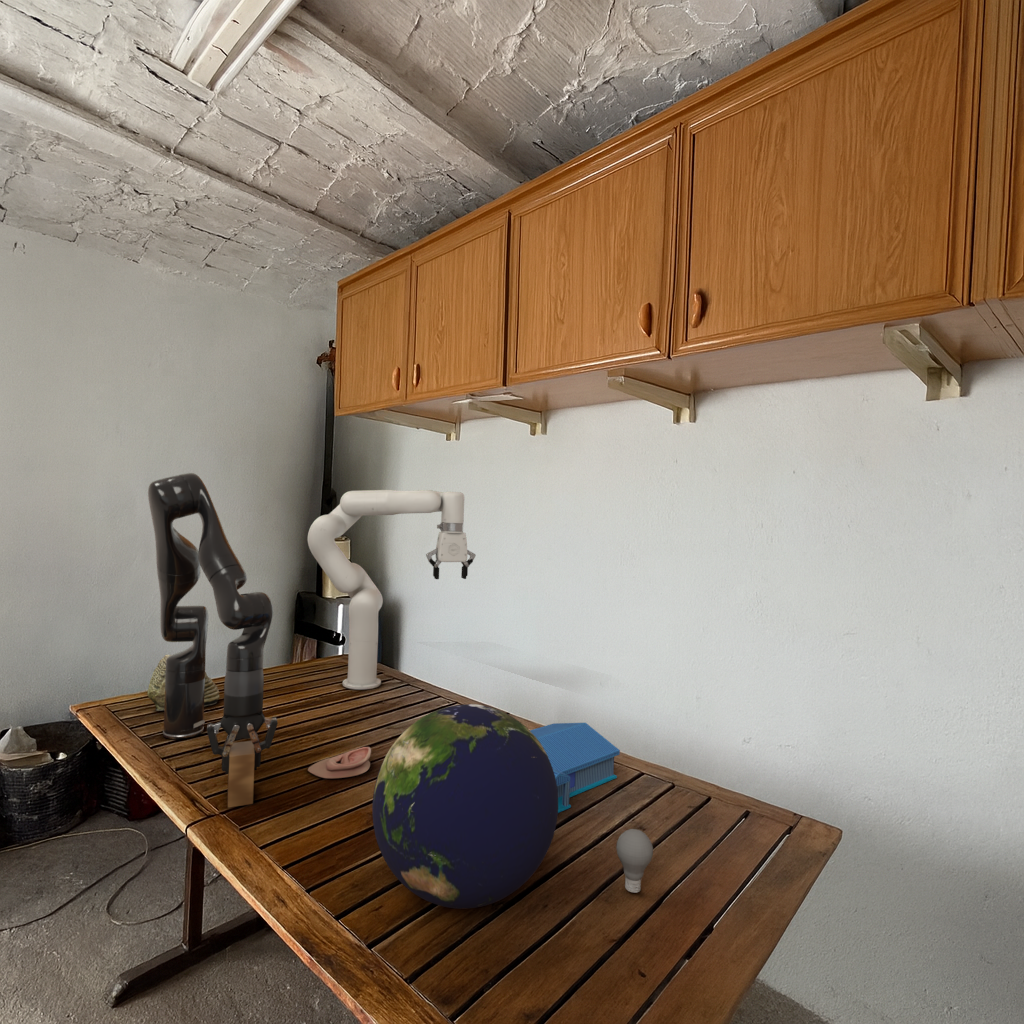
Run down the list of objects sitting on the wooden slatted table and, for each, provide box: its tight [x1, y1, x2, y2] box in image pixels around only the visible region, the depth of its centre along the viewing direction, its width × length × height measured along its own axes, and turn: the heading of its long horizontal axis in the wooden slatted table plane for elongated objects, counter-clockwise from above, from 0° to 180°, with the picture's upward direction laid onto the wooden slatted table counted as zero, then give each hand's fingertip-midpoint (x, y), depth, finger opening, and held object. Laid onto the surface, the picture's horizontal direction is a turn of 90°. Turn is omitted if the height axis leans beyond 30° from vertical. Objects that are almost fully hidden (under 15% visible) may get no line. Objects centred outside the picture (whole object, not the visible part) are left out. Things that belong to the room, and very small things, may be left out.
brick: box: [227, 740, 255, 809], centre depth 132 cm, size 5×7×10 cm, turn 25°
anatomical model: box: [307, 746, 372, 779], centre depth 147 cm, size 13×4×12 cm
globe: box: [371, 703, 559, 910], centre depth 103 cm, size 30×30×30 cm
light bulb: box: [615, 828, 654, 894], centre depth 106 cm, size 6×6×10 cm
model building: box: [529, 722, 621, 814], centre depth 143 cm, size 39×24×10 cm, turn 132°
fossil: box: [147, 654, 221, 712], centre depth 185 cm, size 9×18×15 cm, turn 132°
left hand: (241, 770), depth 132 cm, fingers closed on brick, 4 cm apart
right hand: (450, 578), depth 215 cm, fingers open, 9 cm apart
